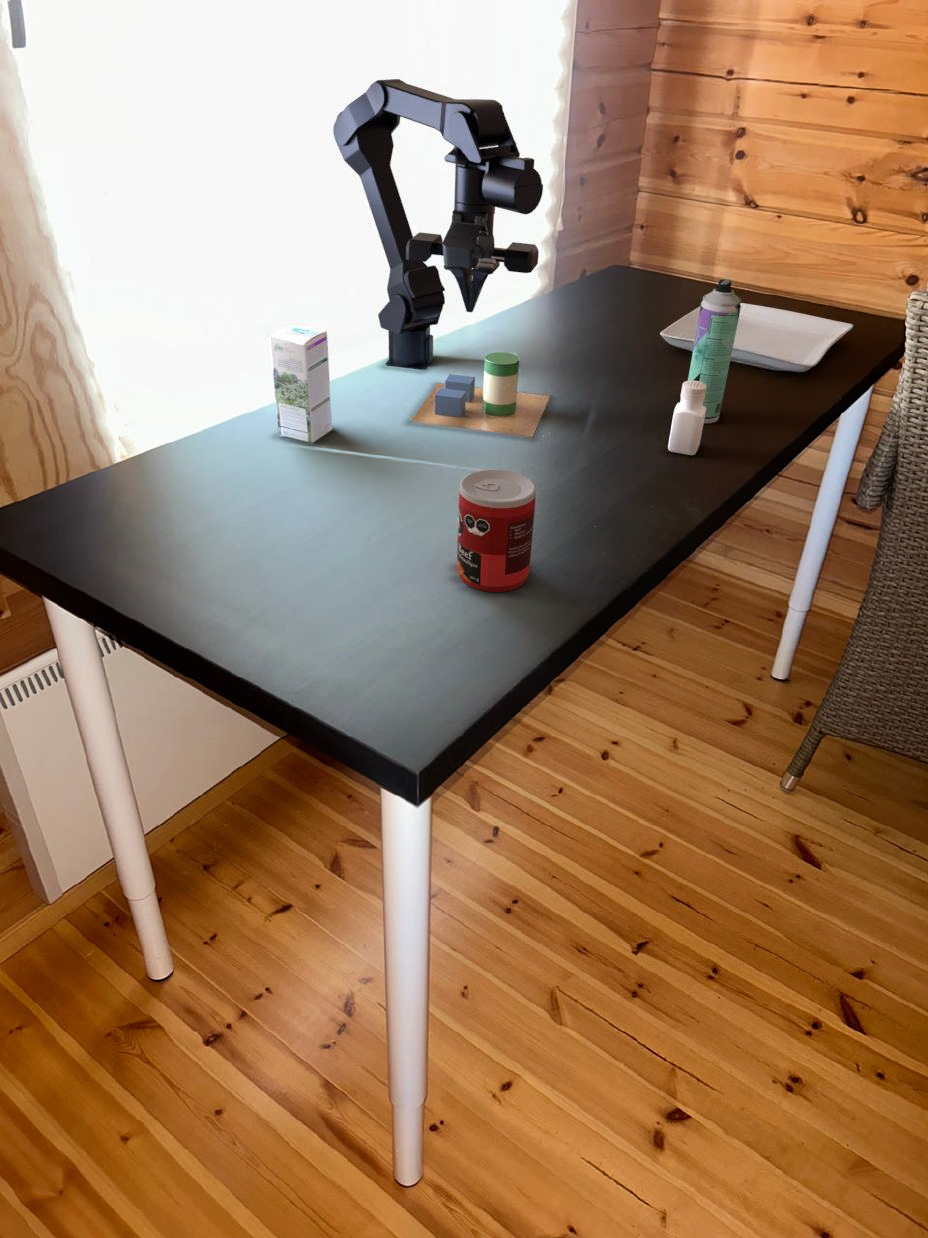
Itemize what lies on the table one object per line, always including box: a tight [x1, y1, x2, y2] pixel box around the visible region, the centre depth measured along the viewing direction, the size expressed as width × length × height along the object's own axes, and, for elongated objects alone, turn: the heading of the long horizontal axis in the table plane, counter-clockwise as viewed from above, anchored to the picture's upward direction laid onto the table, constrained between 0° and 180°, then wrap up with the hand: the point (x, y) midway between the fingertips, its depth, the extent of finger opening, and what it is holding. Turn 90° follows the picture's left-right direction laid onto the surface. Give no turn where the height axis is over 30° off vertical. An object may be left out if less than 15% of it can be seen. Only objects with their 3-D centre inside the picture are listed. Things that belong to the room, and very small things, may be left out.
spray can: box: [687, 278, 742, 424], centre depth 138 cm, size 6×6×20 cm
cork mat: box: [410, 382, 551, 438], centre depth 143 cm, size 18×16×1 cm
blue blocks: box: [435, 373, 476, 417], centre depth 142 cm, size 4×9×3 cm, turn 167°
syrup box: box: [269, 324, 333, 444], centre depth 129 cm, size 6×6×14 cm
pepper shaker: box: [667, 380, 707, 456], centre depth 131 cm, size 4×4×10 cm
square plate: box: [659, 302, 854, 373], centre depth 170 cm, size 27×27×4 cm
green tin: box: [482, 351, 520, 417], centre depth 140 cm, size 9×5×9 cm
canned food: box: [456, 469, 537, 593], centre depth 102 cm, size 8×8×11 cm
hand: (469, 311), depth 144 cm, fingers closed
